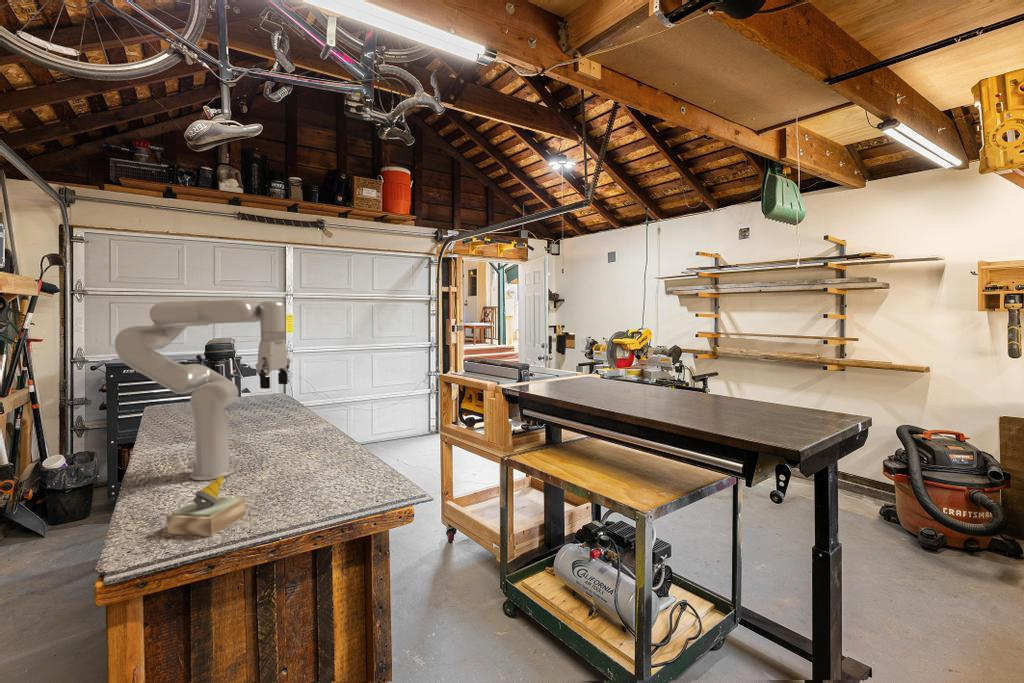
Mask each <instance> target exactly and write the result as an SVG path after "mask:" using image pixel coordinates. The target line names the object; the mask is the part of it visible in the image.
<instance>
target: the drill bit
mask: <svg viewBox="0 0 1024 683" xmlns="http://www.w3.org/2000/svg"><path fill="white" fill-rule="evenodd" d="M224 475H225V474H224ZM224 475H222V476H221V477H219V478H218V479H214V480H213V482H211V483H210V484H208V485H207V486H205V487H203V488H202V489H200V490H197V491H196V492H195V494H194V495H195V497H194V498H193V503H194V502H195V503H196V505H197V506H198V508H197V509H204V508H210V506H211V505H212V504H215V503H216V502H217V499H216V498H217V497H218V495H219V492H220V491H221V490H220V489H221V487H222V483H223V481H224ZM201 500H204V501H206V502H202V501H201Z"/></svg>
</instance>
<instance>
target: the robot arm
mask: <svg viewBox="0 0 1024 683" xmlns="http://www.w3.org/2000/svg"><path fill="white" fill-rule="evenodd" d="M285 310H286V309H285V304H284V302H283V301H280V300H279V301H274V300H265V301H264V300H263V301H257V300H249V299H226V300H225V299H223V300H221V299H220V300H203V299H202V300H201V299H200V300H175V301H161V302H158V303H155V304H154V305H152V307H151V308H150V309H149V314H148V315H149V318H150V320H151V321H152V323H153V324H152V325H136V326H129V327H127V328H124V329H121V330H120V331H119V332H118V333H117V334H116V337H115V339H114V349H115V352H116V354H117V356H118V358H119V359H120V361H121V362H122V363H124V365H126V366H127V367H129V368H131V369H133V370H134V371H136V372H138V373H140V374H141V375H143V376H145V377H146V378H148V379H151V380H152V381H153V382H155V383H157V384H158V385H160V386H162V387H164V388H165V389H167V390H169V391H170V392H173V393H174V394H178V395H179V394H180V395H182V394H187V393H191V396H190V407H191V411H192V416H193V426H194V447H195V448H194V449H195V460H192V461H190V462H189V463H188V464H187V466H186V469H190V470H191V469H193V472H191V474H190V479H192V480H194V481H211V480H216V479H218V478H219V477H221V476H222V475H224V474H225V475H224V477H228V476H230V475H232V474H233V473H235V470H236V469H235V467H234V466H233V465H230V449H229V448H230V447H229V422H228V421H229V420H228V415H227V412H226V410H225V407H227V406H229V405H231V404H233V403H234V402H236V400H237V399H238V396H239V389H238V386H237V385H236V384H235V383H234V382H233V381H232V380H230V379H229V378H227V377H226V376H223V375H222V374H220V373H218V372H217V371H216V370H213V369H211V368H210V367H208V366H206V365H203V364H199V363H190V364H182V363H180V362H177V361H175V360H173V359H172V358H171V357H169V356H167V355H165V354H163V353H160V352H158V351H157V350H162V349H164V348H166V347H168V346H169V345H170V344H171V343H173V341H175V340H176V339H177V337H178V336H180V335H181V334H182V333H183V332H184V331H185V330H186V329H187V328H188V327H201V326H203V327H204V326H209V325H213V324H235V323H236V324H237V323H238V324H240V323H242V324H243V323H258V322H259V323H260V324H259V327H260V341H259V343H258V352H257V362H256V364H255V365H254V366H255V370H256V373H257V374H258V377H259V384H260V385H259V388H260V389H265V390H266V389H270V388H271V377H270V376H269V375H270V373H271V372H272V371H278V372H277V373H278V374H277V378H278V379H277V380H278V382H277V383H278V385H288V383H289V382H288V381H289V380H288V375H289V374H288V373H289V369H290V363H291V359H289V357H288V351H287V343H286V315H285V314H286V313H285Z"/></svg>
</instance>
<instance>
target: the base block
mask: <svg viewBox="0 0 1024 683" xmlns="http://www.w3.org/2000/svg"><path fill="white" fill-rule="evenodd" d="M216 499H217V502H216V503H215V504H212V505H211V506H210V508H204V509H197V508H198V506H197V505H196V503H195V502H194V501H193V502H192V503H190V504H188V505H186V506H184V507H182V508H180V509H178V510H175V511H174V512H172V513H171V514H169V515H167V516H166V528H167V529H166V532H167V534H173V535H190V536H202V537H203V536H204V537H212V536H214V535H216V534H217V533H219V532H220V531H222V530H223V529H225V528H226V527H227V528H228V526H230V525H232V524H233V523H235V522H237V521H238V520H240V519H242V518H243V517H244V516H246V499H244V498H237V497H235V498H234V497H218V496H217V498H216ZM201 501H202V502H206V501H204V500H201Z"/></svg>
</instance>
